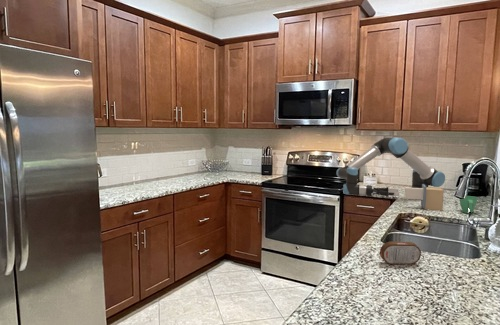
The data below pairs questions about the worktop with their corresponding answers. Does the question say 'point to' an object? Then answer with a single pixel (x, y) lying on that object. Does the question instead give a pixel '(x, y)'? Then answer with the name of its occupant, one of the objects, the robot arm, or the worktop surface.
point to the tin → (400, 253)
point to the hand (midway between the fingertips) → (398, 192)
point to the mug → (468, 203)
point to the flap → (416, 194)
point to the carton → (434, 198)
